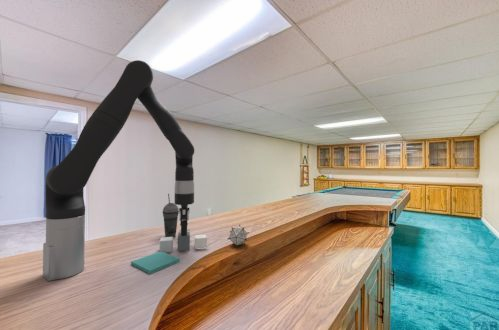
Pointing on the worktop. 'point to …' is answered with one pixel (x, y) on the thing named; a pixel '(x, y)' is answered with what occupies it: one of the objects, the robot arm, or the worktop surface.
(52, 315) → the worktop surface
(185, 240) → the charcoal block
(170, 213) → the beverage cup
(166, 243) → the grey block
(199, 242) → the offwhite block
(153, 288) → the worktop surface
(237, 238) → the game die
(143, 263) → the teal mat
